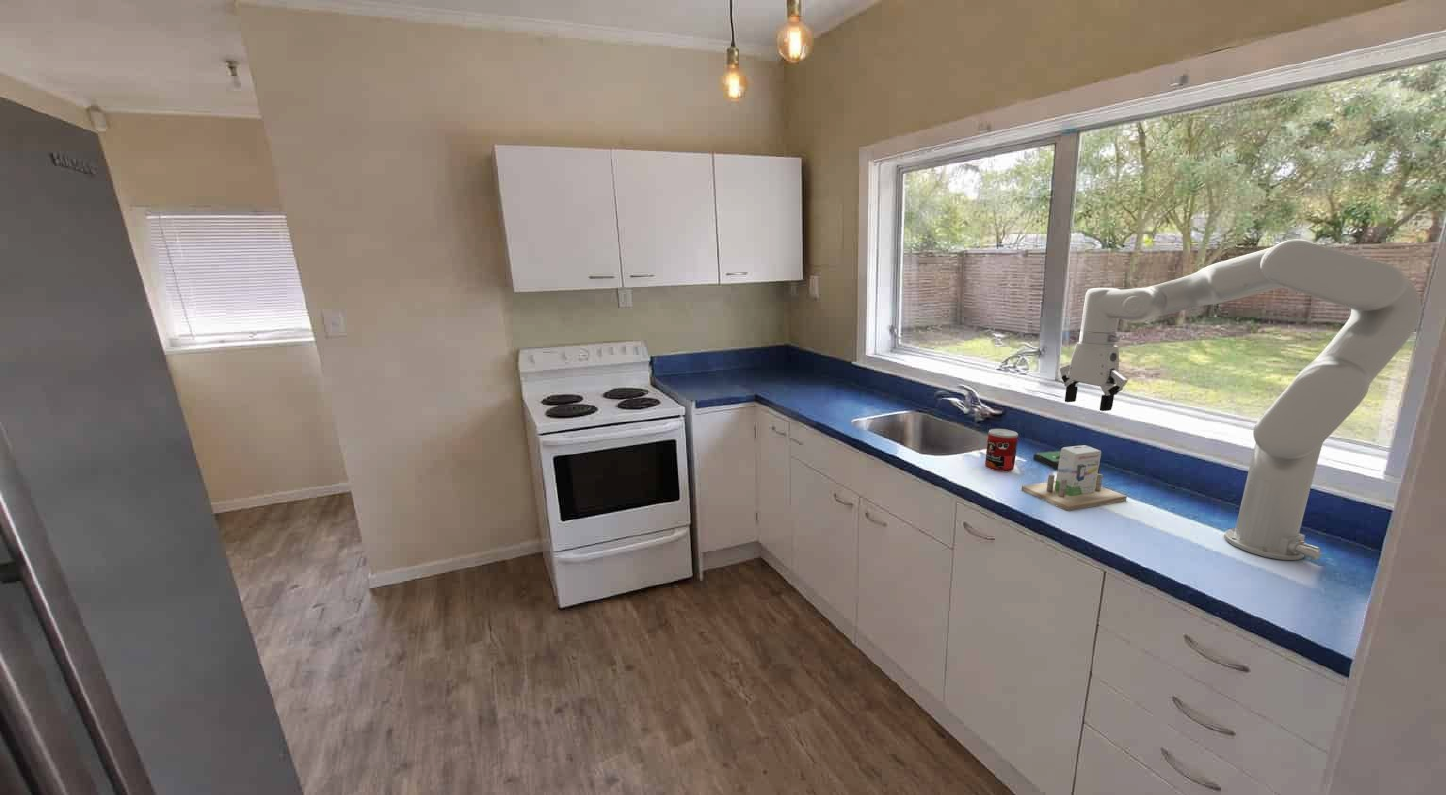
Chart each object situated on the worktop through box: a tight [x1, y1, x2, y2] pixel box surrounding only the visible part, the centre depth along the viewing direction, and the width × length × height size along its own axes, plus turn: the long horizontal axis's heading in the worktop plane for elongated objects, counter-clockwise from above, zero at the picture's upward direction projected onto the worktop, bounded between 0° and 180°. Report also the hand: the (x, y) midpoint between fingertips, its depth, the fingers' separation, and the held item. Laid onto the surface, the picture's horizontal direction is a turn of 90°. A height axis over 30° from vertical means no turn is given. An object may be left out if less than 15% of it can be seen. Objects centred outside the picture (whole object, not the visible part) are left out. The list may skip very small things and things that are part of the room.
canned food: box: [984, 428, 1019, 472], centre depth 167 cm, size 8×8×11 cm
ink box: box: [1055, 444, 1102, 496], centre depth 146 cm, size 9×5×12 cm, turn 107°
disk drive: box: [1033, 450, 1101, 474], centre depth 169 cm, size 10×3×15 cm
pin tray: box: [1021, 473, 1128, 512], centre depth 147 cm, size 14×20×6 cm
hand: (1087, 405), depth 142 cm, fingers open, 9 cm apart
